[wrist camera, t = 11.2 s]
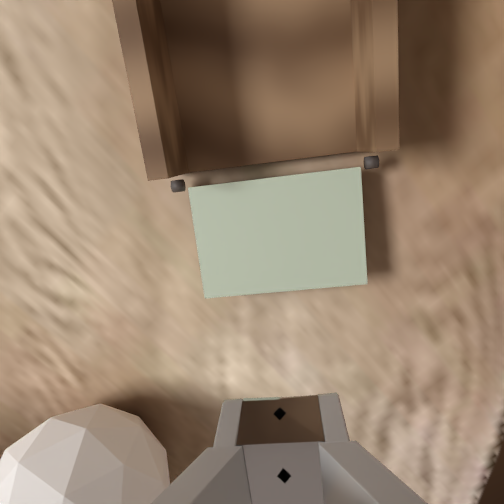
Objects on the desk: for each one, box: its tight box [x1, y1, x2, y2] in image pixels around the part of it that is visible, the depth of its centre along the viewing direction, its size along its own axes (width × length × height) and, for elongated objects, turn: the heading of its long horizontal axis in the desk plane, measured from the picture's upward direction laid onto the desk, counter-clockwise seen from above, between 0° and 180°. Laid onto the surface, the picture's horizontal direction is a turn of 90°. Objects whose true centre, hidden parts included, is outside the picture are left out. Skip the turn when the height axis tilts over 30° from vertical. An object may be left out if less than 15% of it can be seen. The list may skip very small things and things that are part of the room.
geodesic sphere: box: [0, 403, 170, 504], centre depth 27 cm, size 14×14×14 cm
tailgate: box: [188, 167, 367, 298], centre depth 25 cm, size 1×12×8 cm
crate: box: [112, 0, 399, 192], centre depth 21 cm, size 17×14×6 cm
